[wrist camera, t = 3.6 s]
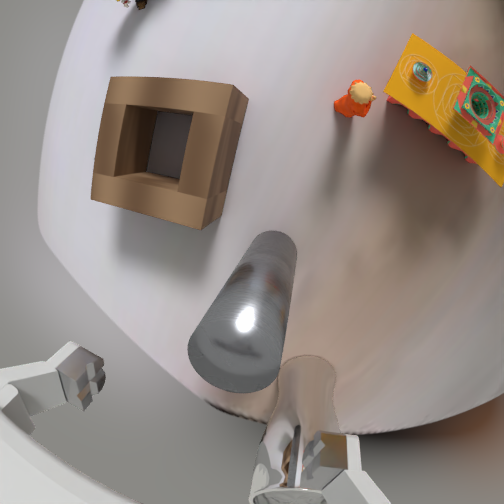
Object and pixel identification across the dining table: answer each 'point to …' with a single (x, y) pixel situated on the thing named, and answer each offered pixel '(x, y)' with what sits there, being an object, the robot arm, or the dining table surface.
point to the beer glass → (294, 432)
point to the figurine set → (140, 2)
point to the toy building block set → (442, 104)
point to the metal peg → (248, 319)
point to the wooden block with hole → (196, 153)
